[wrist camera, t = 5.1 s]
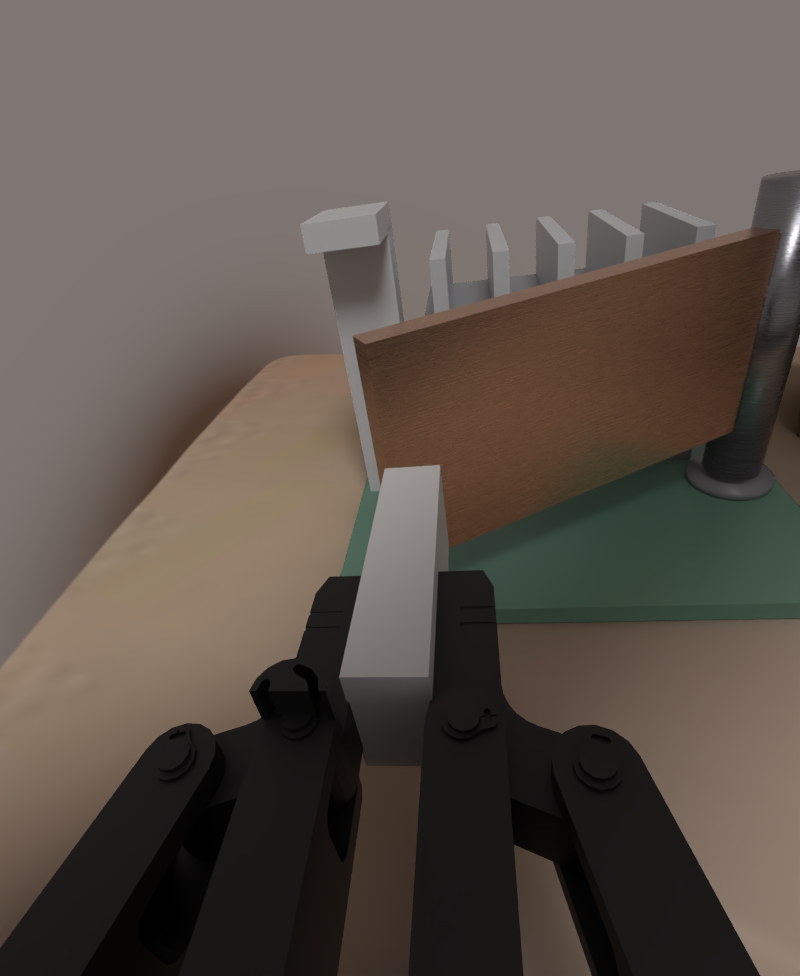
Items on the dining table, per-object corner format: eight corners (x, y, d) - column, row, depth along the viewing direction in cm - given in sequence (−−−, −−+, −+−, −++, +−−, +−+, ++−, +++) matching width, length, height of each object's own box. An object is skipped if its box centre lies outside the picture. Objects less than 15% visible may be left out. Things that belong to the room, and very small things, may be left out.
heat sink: (688, 395, 35) (735, 134, 27) (875, 616, 19) (1121, 144, 11) (387, 419, 38) (350, 191, 30) (334, 626, 22) (227, 261, 14)
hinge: (726, 448, 26) (792, 169, 20) (773, 469, 24) (863, 168, 18) (394, 588, 21) (333, 276, 15) (421, 628, 19) (365, 290, 13)
